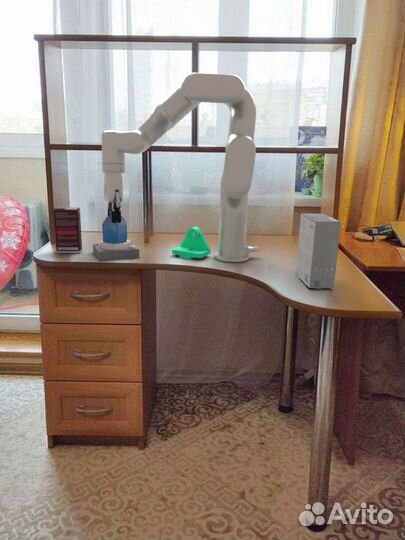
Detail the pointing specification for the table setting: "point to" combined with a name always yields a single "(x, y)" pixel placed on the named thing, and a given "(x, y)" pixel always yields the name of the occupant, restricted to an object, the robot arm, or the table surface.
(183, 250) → the camera mount
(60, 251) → the supplement box
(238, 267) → the table surface
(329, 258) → the hard drive box
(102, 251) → the camera body block
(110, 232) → the perfume bottle
